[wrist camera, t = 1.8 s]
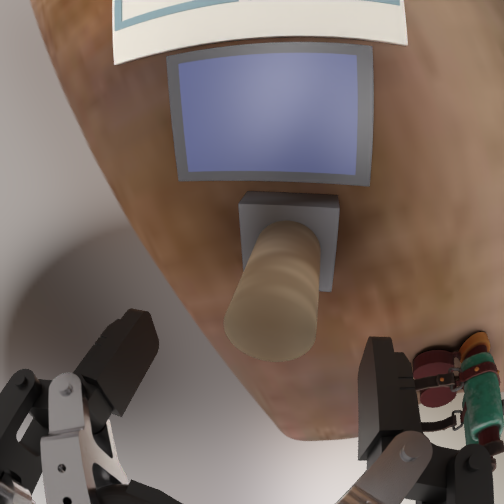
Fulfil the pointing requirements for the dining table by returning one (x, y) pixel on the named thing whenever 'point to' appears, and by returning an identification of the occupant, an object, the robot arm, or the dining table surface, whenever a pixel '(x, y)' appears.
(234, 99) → the ink pad
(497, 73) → the dining table surface
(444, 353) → the binoculars
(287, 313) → the stamp
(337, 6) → the form board
